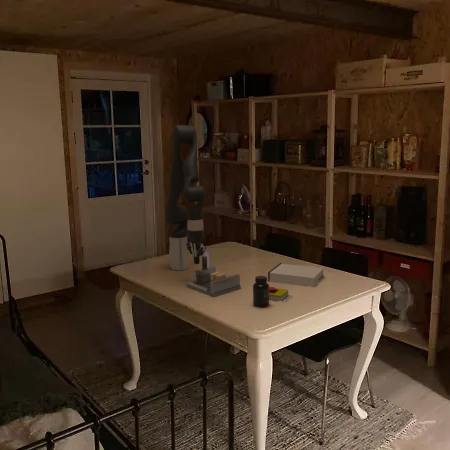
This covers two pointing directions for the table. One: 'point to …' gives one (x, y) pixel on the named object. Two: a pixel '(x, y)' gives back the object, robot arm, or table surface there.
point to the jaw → (203, 272)
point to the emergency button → (279, 294)
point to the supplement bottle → (261, 292)
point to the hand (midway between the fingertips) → (196, 263)
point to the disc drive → (295, 275)
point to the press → (217, 285)
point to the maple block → (217, 276)
